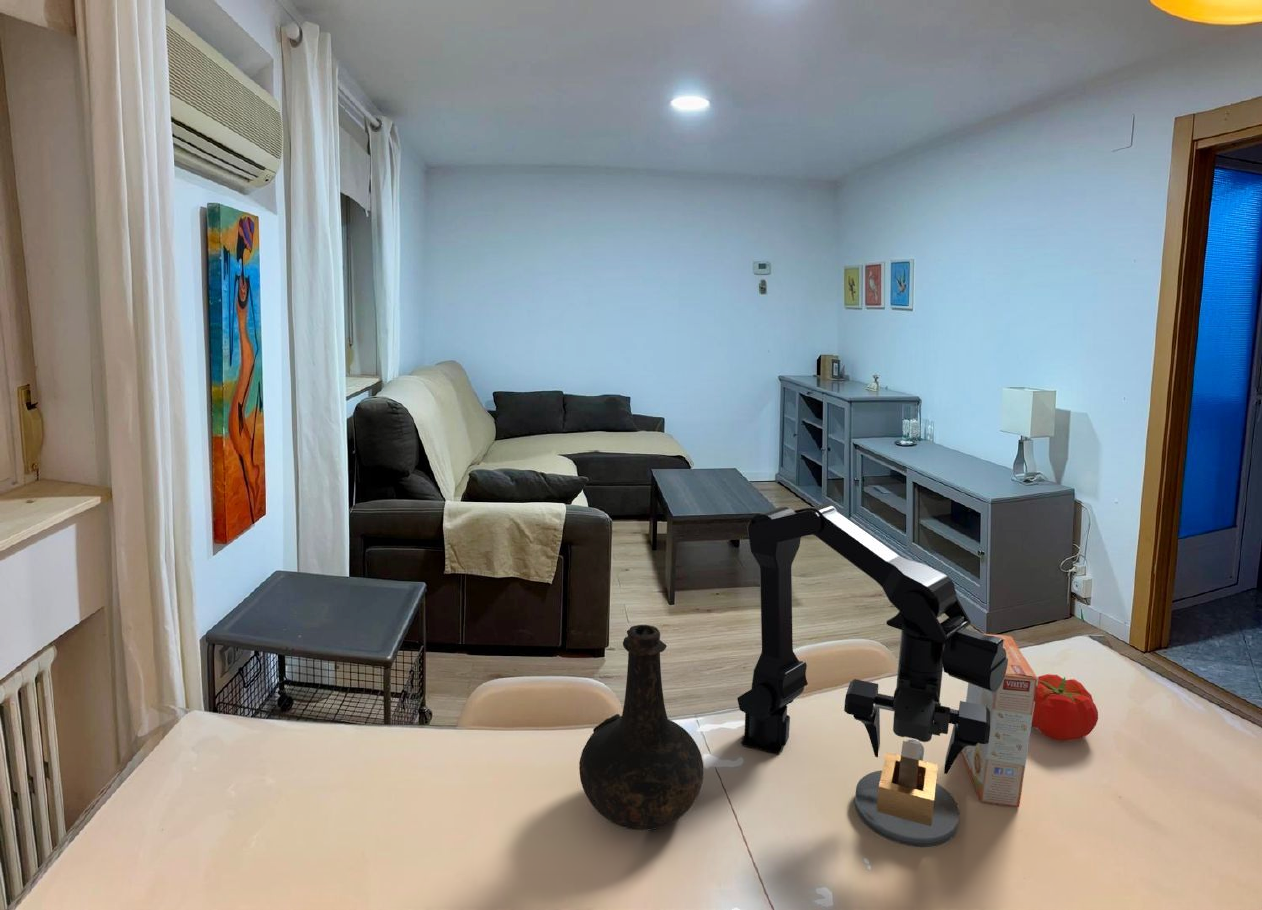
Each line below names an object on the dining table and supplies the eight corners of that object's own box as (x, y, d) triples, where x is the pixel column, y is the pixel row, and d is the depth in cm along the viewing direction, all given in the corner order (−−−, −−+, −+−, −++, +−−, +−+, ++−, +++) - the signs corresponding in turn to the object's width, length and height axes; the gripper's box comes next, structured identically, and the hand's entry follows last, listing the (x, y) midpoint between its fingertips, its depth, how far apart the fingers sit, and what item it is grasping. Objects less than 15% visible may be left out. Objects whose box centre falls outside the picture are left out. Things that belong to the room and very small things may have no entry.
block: (895, 806, 110) (900, 755, 108) (898, 789, 114) (902, 740, 112) (913, 810, 109) (919, 760, 107) (915, 793, 113) (920, 744, 111)
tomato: (1019, 702, 141) (1025, 659, 140) (1098, 725, 134) (1105, 680, 132) (1005, 734, 131) (1011, 688, 129) (1089, 760, 124) (1097, 712, 122)
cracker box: (1022, 809, 113) (1040, 678, 108) (978, 803, 114) (994, 673, 109) (998, 753, 126) (1013, 634, 121) (958, 748, 127) (972, 630, 123)
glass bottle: (640, 754, 125) (642, 591, 118) (728, 808, 112) (735, 629, 106) (553, 805, 112) (551, 627, 106) (641, 872, 100) (644, 674, 94)
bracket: (847, 828, 108) (850, 790, 107) (865, 759, 124) (868, 726, 122) (955, 858, 103) (960, 819, 101) (960, 783, 118) (964, 748, 117)
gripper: (841, 675, 103) (833, 778, 106) (996, 707, 96) (982, 817, 99) (854, 640, 113) (846, 736, 116) (995, 667, 106) (982, 768, 109)
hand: (910, 763), depth 110 cm, fingers open, 9 cm apart
